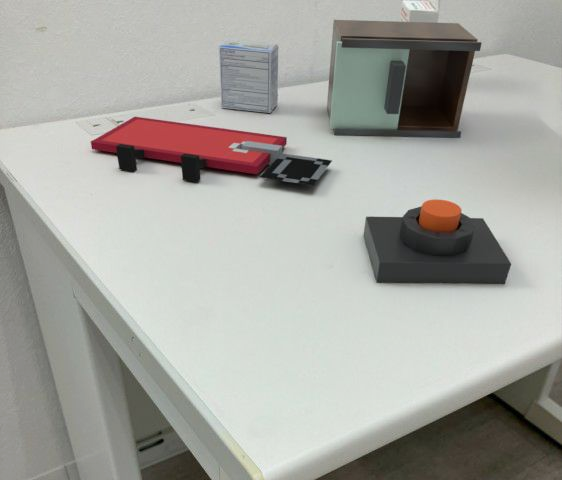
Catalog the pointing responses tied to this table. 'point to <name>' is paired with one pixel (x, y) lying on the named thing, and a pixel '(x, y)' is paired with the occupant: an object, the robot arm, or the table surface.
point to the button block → (434, 251)
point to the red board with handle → (207, 150)
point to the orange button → (439, 215)
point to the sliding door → (368, 87)
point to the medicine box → (249, 75)
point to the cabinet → (416, 72)
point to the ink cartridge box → (420, 11)
